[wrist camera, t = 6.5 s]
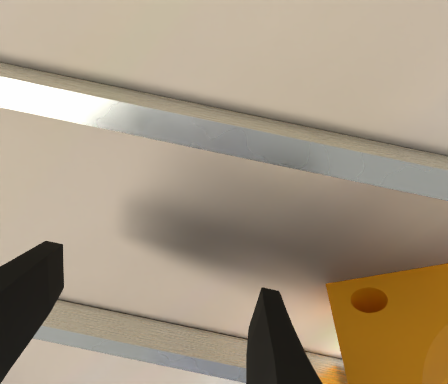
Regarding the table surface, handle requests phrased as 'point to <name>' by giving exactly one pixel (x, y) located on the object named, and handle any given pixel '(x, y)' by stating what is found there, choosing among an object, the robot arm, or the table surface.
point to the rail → (216, 142)
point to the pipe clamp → (393, 326)
